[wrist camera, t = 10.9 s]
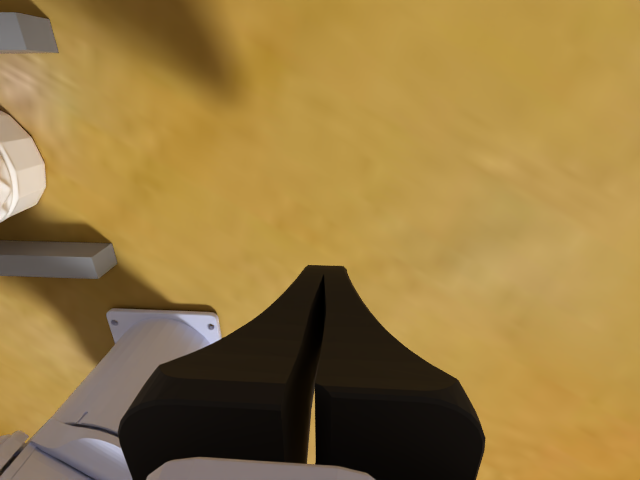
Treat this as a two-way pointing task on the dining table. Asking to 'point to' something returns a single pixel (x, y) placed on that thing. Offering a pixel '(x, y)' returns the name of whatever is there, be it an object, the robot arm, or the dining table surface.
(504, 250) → the dining table surface
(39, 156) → the white cup
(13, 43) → the gray u-shaped frame
